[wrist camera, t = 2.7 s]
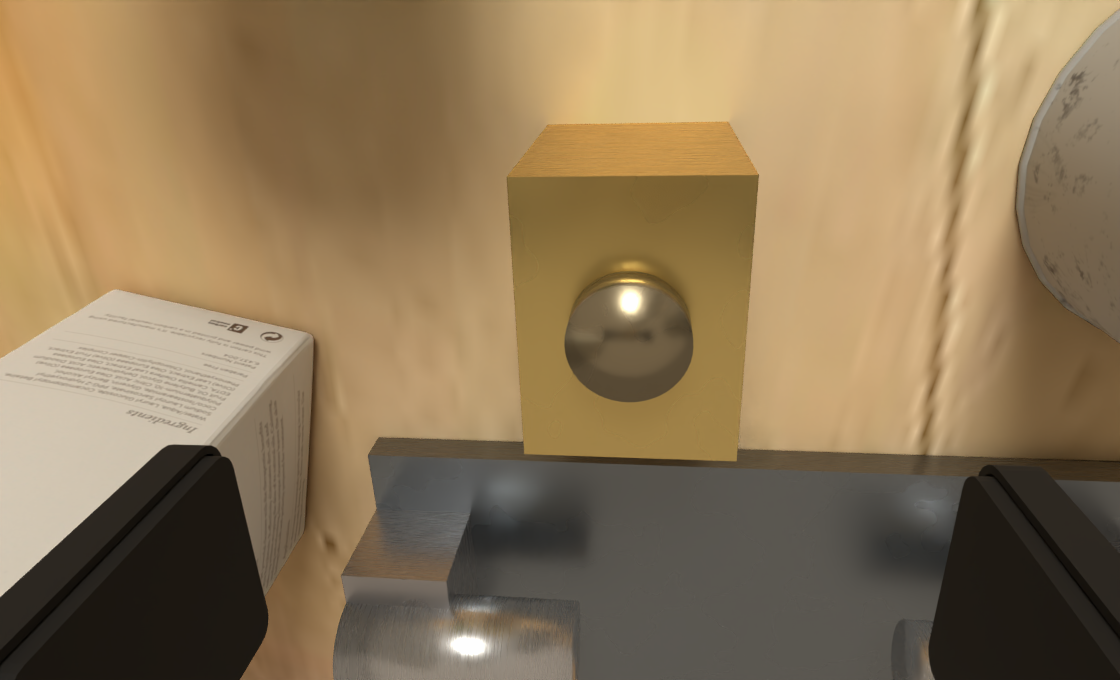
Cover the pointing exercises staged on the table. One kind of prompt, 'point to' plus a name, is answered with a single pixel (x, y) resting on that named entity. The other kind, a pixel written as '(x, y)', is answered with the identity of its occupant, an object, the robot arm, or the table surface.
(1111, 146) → the grey can
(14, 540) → the skincare box
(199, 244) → the table surface
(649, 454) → the coupler
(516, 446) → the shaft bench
